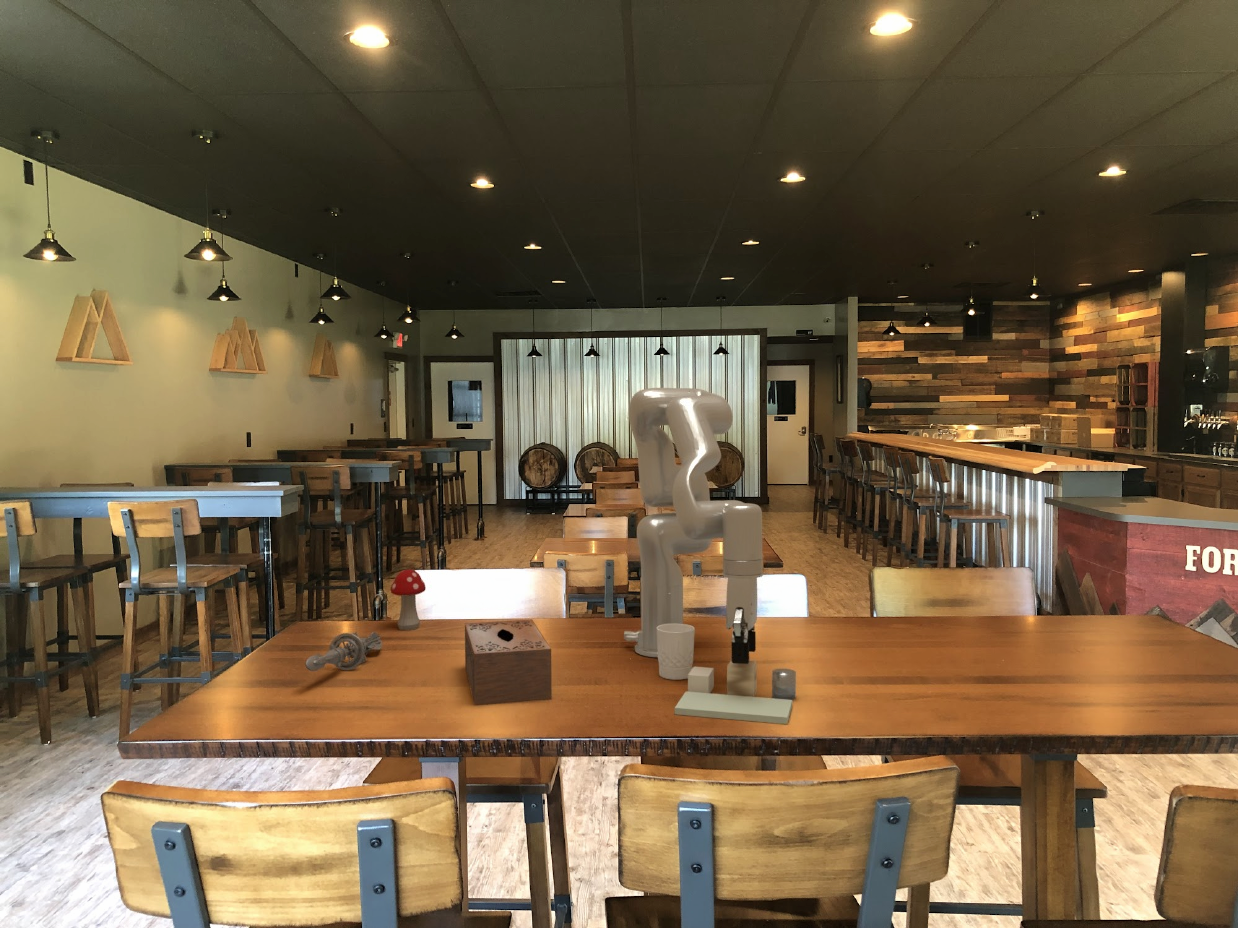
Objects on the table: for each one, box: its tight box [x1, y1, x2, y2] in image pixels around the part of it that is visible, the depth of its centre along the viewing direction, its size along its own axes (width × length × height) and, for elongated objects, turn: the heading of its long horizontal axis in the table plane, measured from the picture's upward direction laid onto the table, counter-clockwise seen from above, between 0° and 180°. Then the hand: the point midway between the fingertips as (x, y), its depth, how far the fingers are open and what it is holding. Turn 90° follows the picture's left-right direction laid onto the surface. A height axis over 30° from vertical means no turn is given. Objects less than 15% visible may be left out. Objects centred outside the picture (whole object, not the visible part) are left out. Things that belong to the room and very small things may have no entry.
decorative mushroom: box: [390, 568, 426, 631], centre depth 227 cm, size 10×9×15 cm
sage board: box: [674, 690, 793, 725], centre depth 162 cm, size 20×10×1 cm, turn 74°
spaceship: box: [304, 631, 383, 672], centre depth 189 cm, size 8×35×8 cm
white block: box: [687, 666, 715, 693], centre depth 174 cm, size 4×6×4 cm, turn 164°
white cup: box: [657, 623, 695, 681], centre depth 184 cm, size 8×8×10 cm
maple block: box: [726, 659, 758, 697], centre depth 171 cm, size 5×5×6 cm
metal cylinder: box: [771, 668, 797, 702], centre depth 169 cm, size 4×4×5 cm
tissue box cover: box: [464, 618, 553, 706], centre depth 179 cm, size 26×14×10 cm, turn 14°
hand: (744, 656), depth 170 cm, fingers open, 9 cm apart
